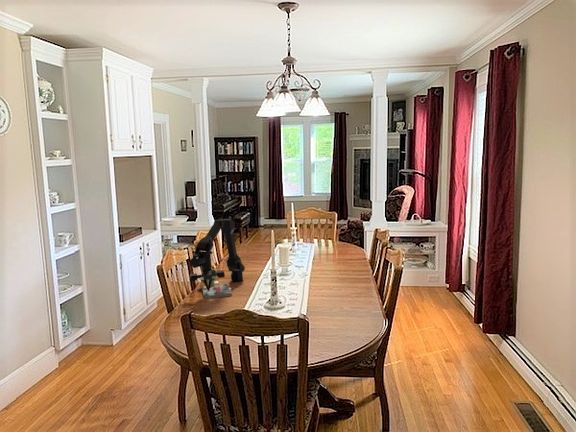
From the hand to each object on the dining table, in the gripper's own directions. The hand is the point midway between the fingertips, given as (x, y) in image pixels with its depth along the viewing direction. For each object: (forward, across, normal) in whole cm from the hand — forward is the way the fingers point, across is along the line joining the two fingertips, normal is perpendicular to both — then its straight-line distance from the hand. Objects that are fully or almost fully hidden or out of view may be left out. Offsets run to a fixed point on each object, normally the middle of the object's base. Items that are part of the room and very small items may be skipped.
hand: (208, 290), depth 252 cm
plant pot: (+3, +2, +20) cm, 20 cm away
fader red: (+1, +5, 0) cm, 5 cm away
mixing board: (+3, +5, +4) cm, 7 cm away
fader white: (+1, +5, +9) cm, 10 cm away
